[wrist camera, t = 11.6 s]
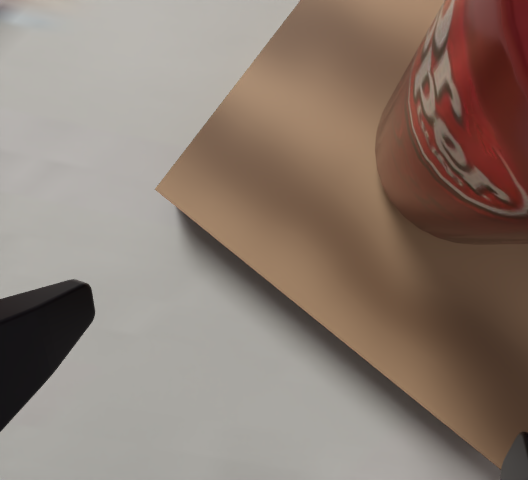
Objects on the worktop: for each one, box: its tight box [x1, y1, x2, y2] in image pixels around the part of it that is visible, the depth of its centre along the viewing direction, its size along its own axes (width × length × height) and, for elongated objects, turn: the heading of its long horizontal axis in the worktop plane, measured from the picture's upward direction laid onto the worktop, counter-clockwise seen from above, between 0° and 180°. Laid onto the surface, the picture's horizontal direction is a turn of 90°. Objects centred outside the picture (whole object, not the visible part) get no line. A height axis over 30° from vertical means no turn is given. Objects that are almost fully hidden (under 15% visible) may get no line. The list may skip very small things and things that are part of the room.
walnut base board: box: [155, 0, 528, 469], centre depth 18 cm, size 18×18×2 cm
